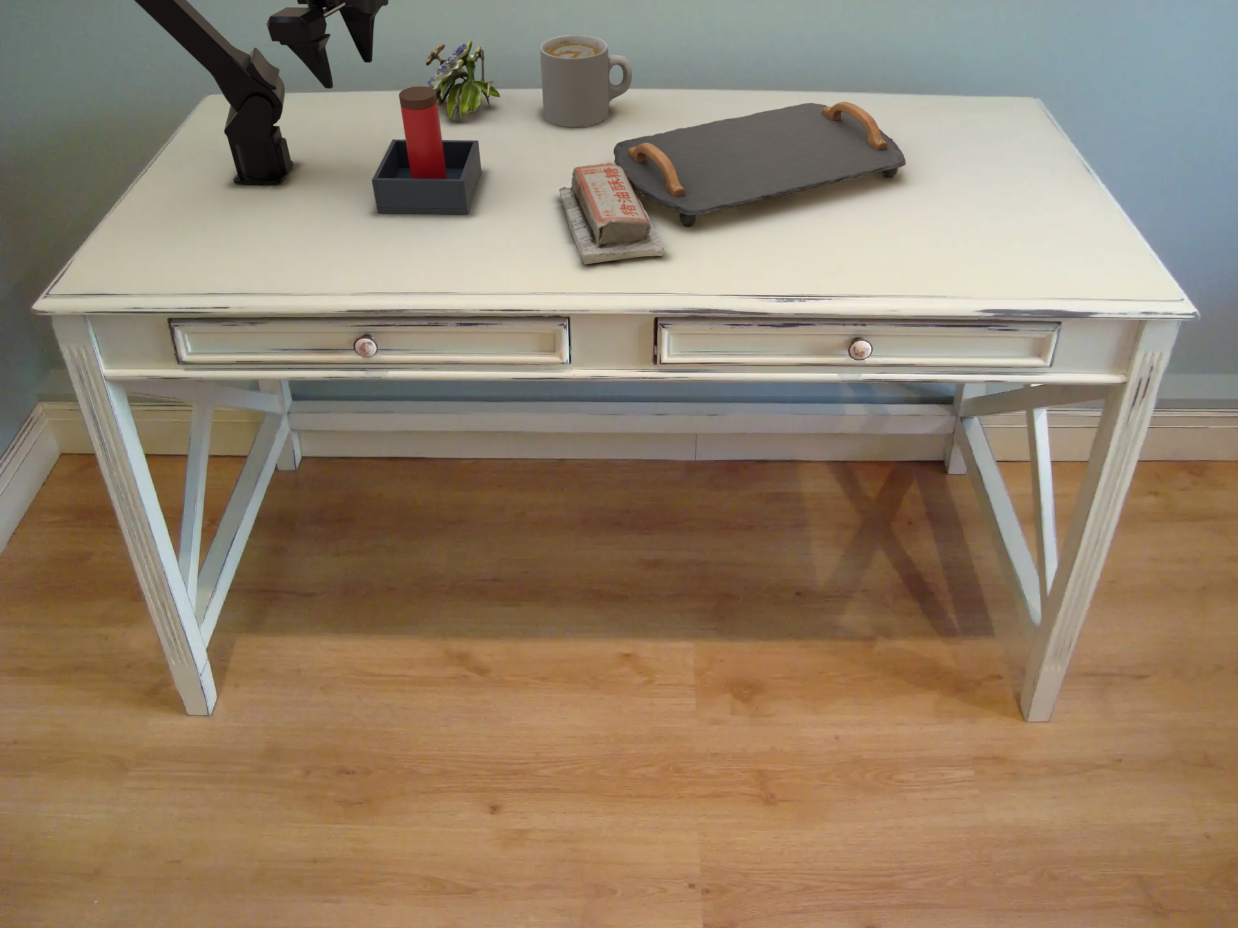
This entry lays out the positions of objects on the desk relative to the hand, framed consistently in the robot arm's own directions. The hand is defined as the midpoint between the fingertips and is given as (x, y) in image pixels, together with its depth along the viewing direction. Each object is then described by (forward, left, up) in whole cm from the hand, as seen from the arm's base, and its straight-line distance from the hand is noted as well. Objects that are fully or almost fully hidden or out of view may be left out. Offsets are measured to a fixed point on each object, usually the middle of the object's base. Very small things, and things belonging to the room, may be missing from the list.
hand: (349, 75), depth 133 cm
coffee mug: (+29, +20, -13) cm, 38 cm away
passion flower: (+10, +22, -13) cm, 27 cm away
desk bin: (+10, -7, -13) cm, 18 cm away
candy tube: (+10, -7, -12) cm, 17 cm away
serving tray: (+54, 0, -13) cm, 55 cm away
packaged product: (+35, -16, -13) cm, 40 cm away
